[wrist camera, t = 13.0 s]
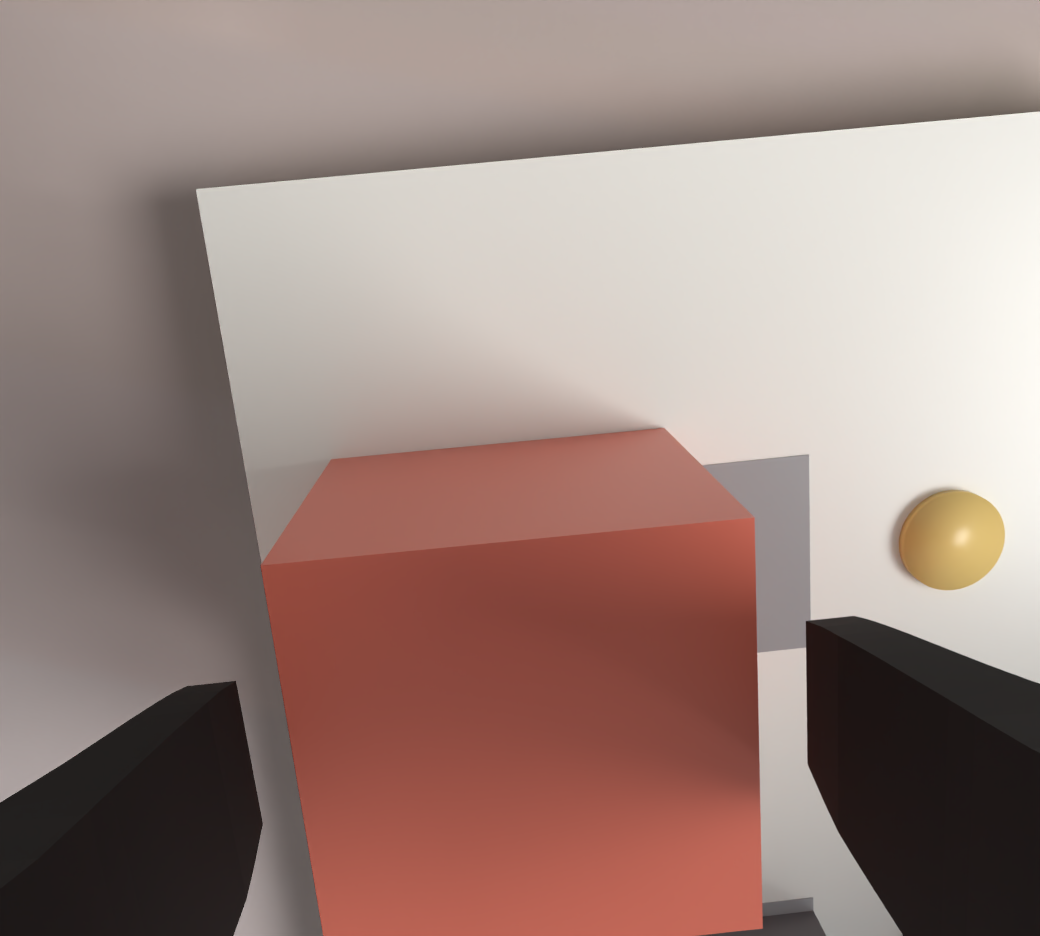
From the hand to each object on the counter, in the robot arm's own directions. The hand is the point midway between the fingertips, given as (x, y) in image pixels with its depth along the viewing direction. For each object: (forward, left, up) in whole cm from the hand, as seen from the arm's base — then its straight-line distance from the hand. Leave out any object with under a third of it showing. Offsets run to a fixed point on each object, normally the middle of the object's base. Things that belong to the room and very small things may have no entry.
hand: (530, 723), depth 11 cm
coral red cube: (0, 0, -5) cm, 5 cm away
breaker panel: (-3, +3, -6) cm, 8 cm away
